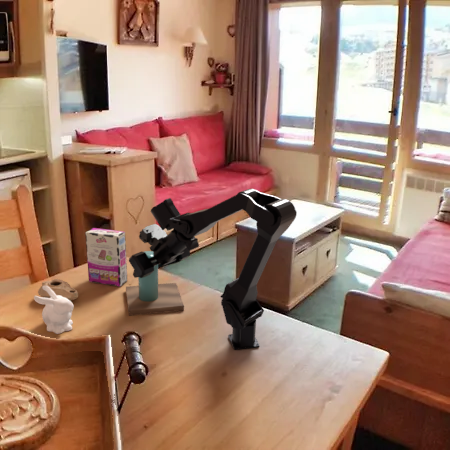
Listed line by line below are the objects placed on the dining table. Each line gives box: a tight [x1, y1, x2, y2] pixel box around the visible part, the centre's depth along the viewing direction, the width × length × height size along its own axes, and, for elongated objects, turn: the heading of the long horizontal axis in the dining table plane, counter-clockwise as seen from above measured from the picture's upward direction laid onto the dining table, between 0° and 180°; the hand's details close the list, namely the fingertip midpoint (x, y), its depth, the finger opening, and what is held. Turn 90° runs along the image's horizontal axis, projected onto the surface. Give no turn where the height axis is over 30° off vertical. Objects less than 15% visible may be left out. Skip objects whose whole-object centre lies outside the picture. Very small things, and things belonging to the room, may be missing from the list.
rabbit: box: [33, 285, 75, 335], centre depth 132 cm, size 12×9×12 cm
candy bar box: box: [84, 227, 128, 287], centre depth 157 cm, size 11×5×16 cm, turn 73°
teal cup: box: [137, 250, 159, 302], centre depth 145 cm, size 6×6×13 cm
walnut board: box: [125, 282, 185, 316], centre depth 148 cm, size 15×15×2 cm
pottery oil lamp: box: [37, 278, 79, 301], centre depth 147 cm, size 9×12×7 cm
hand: (146, 270), depth 145 cm, fingers open, 9 cm apart
